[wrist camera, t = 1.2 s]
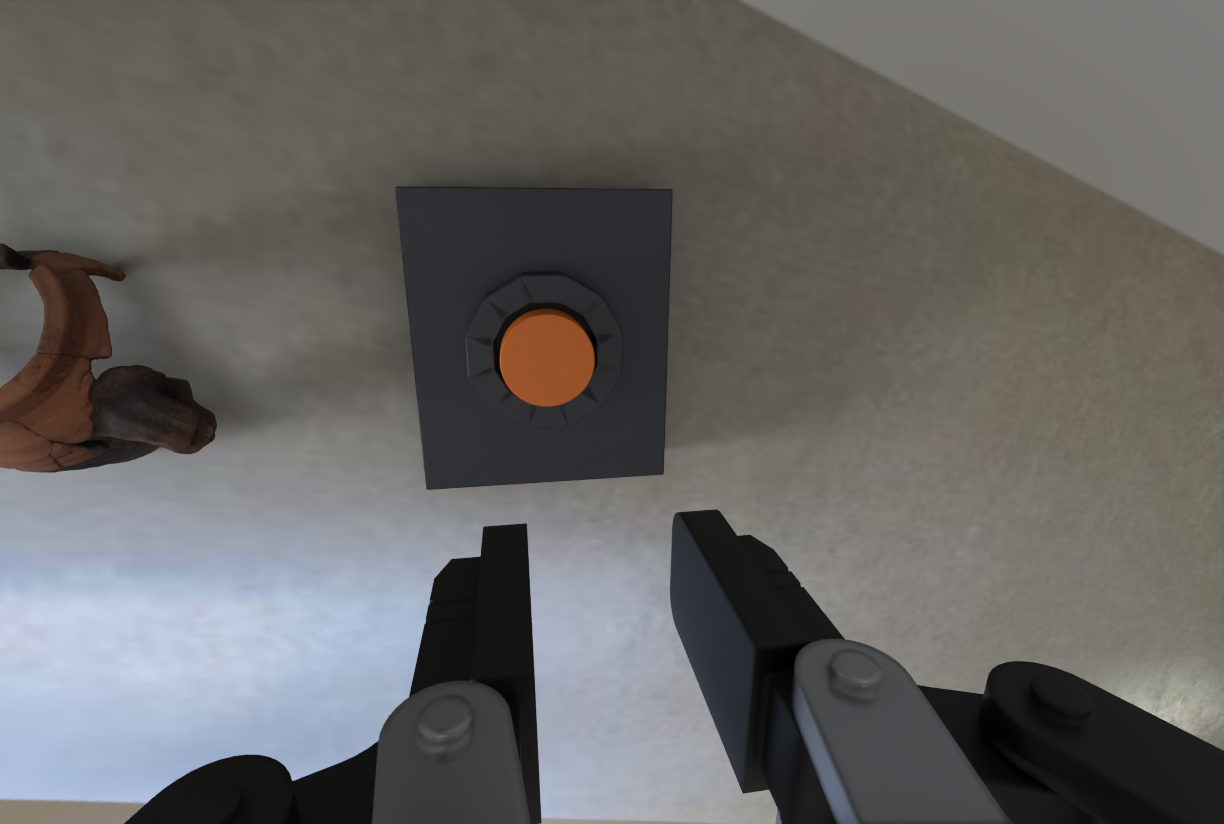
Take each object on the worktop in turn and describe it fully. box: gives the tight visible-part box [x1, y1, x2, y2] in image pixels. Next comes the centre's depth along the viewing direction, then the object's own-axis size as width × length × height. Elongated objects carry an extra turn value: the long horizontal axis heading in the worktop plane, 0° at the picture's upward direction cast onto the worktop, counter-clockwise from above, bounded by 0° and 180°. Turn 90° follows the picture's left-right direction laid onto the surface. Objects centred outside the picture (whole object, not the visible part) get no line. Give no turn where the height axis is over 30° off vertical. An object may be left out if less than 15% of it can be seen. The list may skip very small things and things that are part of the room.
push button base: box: [395, 187, 672, 490], centre depth 29 cm, size 14×12×5 cm
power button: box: [500, 308, 595, 407], centre depth 26 cm, size 4×4×2 cm
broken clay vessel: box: [0, 244, 217, 472], centre depth 26 cm, size 12×10×8 cm
